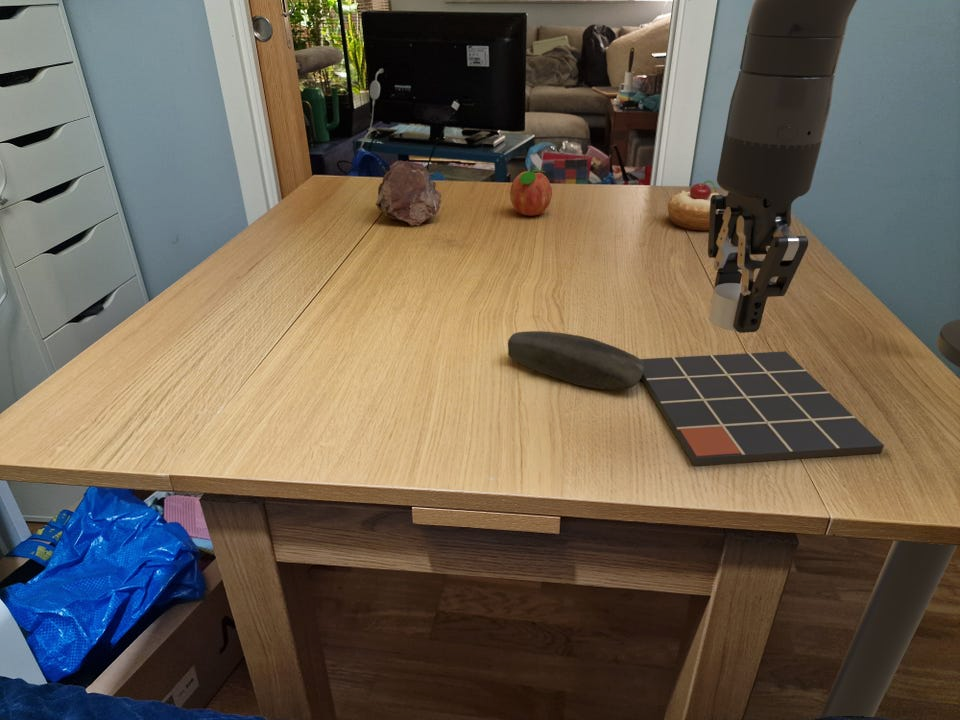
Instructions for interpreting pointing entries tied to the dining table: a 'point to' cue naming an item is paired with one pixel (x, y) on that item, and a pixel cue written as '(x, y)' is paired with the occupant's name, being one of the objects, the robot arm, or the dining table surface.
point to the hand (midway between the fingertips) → (733, 317)
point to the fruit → (531, 192)
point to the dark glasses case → (576, 359)
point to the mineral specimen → (408, 193)
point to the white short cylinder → (724, 305)
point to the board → (752, 409)
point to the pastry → (692, 207)
